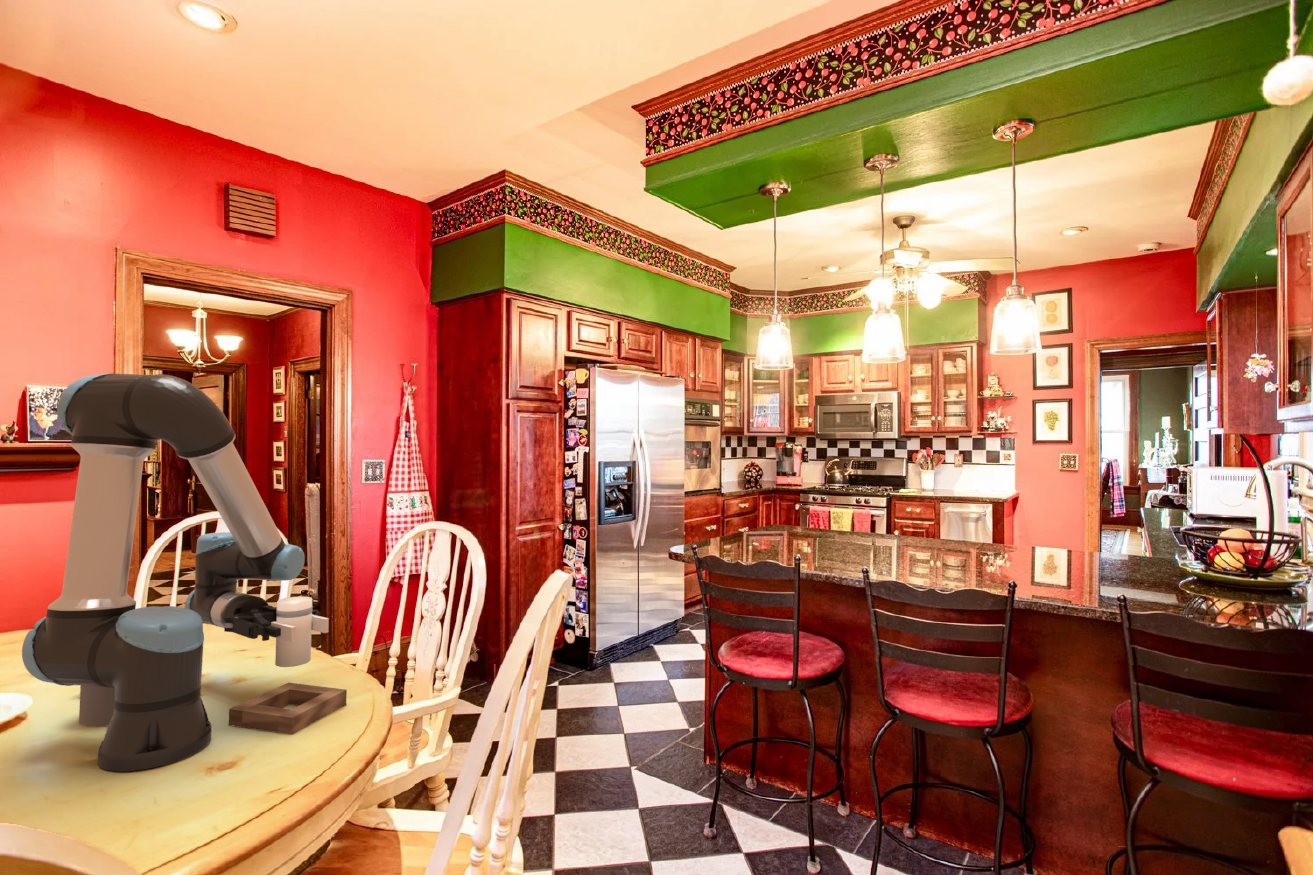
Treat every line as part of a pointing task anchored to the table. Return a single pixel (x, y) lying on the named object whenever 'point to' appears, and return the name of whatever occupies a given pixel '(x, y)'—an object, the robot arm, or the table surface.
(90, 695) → the coffee mug
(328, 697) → the cradle
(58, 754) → the table surface
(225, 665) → the table surface
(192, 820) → the table surface
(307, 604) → the white cylinder
